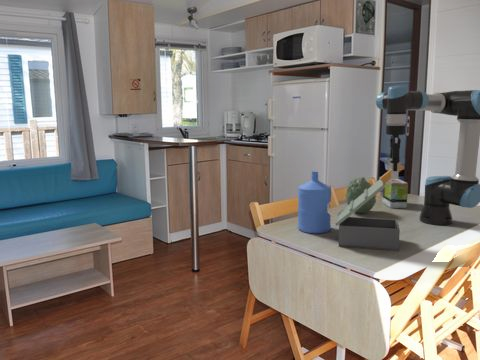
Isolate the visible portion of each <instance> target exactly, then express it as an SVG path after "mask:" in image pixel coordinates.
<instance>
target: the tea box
mask: <svg viewBox="0 0 480 360" xmlns="http://www.w3.org/2000/svg"><path fill="white" fill-rule="evenodd" d="M408 191H409V183H408V182H406V181H404V180H402V179H400V178H398V179H390V180H389V181H387V182H386V183H385V188H383V189H382V196H381V197H382V201H381V202H382V203H383V204H384V205H386V206H387V207H388V208H390V209H391V208H392V209H401V208H402V209H406V208H408V194H409V193H408Z"/></svg>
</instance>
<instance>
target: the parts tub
mask: <svg viewBox="0 0 480 360" xmlns="http://www.w3.org/2000/svg"><path fill="white" fill-rule="evenodd" d="M400 233H401V231H400V225H399V221H398V219H395V218H380V217H379V218H375V217H359V216H358V217H357V216H349V217H348V218H346V219H345V220H344V221H343V222H342V223H340V224H339V225H338V247H341V248H356V249H369V250H384V251H393V250H394V251H396V252H399V250H400V249H399V247H400Z"/></svg>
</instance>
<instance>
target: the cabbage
mask: <svg viewBox="0 0 480 360" xmlns="http://www.w3.org/2000/svg"><path fill="white" fill-rule="evenodd" d="M371 186H372V184H371V183H370V182H368V181H367V179H366V178H365V177H364V176H363V177H358V178H353V179H350V180H349V182H348V186H347V188H346V192H345V199H346V203H347V206H348V205H349V204H350V202H351V201H352V200H353V201H354V200H355V199H357V198H358V197H359V196H360V195H361V194H363V193H364V190H365V189H366V188H367V189H369V188H370V187H371ZM376 202H377V199H376V195H375V196H374V197H372V198H371V199H370V200H369V201H367V202H366V203H365V204H364V205H362V206H361V207H360V208H359V209H358V210H356V211H355V212H354V213H357V214H365V213H367V212H369V211H371V210H372V209H373V207H375V206H376V205H375V204H376Z"/></svg>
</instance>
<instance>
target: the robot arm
mask: <svg viewBox="0 0 480 360" xmlns="http://www.w3.org/2000/svg"><path fill="white" fill-rule="evenodd" d="M375 105H376V107H377V108H378V109H379V110H385V111H386V116H385V117H384V119H385V120H386V124H387V125H386V127H385V134H386V135H389V136H390V139H389V147H390V149H389V150H390V151H389V168H388V171H389V170H390V169H391V179H399V174H400V173H399V163H400V161H401V160H400V148H401V141H402V140H401V138H400V136H404V135H405V134H406V130H407V129H406V127H407V126H406V124H407V111H425V112H426V111H428V112H429V111H430V112H431V113H433V114H440V115H441V114H442V115H446V116H453V117H454V116H455V117H456V120H457V122H459V131H458V141H457V153H456V163H455V174H454V175H452V176H451V175H450V176H449V175H435V176H428V177H427V178H426V179H425V185H424V199H423V201H424V203H423V206H422V210H421V212H420V214H419V221H420V222H422V223H424V224H429V225H436V226H437V225H438V226H447V225H450V224H452V223H453V216H452V213H451V209H450V205H453V206H457V207H461V208H468V209H472V208H475V207H477V206H478V205H479V203H480V183H479V178H478V177H477V167H478V158H479V148H480V147H479V146H480V89H474V90H473V89H472V90H471V89H469V90H452V91H445V92H434V93H432V94H429V93H428V94H427V93H426V92H425V91H422V90H421V91H420V90H410V91H409V90H408V86H407V85H396V86H395V85H393V86H389V87H388V89H387V91H384V92H380V93H379V94H377V96H376V98H375Z"/></svg>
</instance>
